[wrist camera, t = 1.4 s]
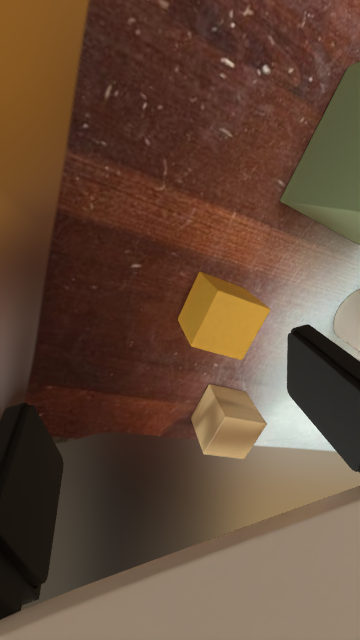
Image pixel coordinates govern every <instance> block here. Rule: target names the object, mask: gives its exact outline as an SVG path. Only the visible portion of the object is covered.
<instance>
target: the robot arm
mask: <svg viewBox="0 0 360 640" xmlns="http://www.w3.org/2000/svg"><path fill="white" fill-rule="evenodd" d="M287 390H288V393H289V395H290V396H291V398H292V399H293V400H294V401H295V403H296V404H297V405H298V406H299V407H300V408H301V410H302V411H303V412H304V413H305V414H306V416H307V417H308V418H309V419H310V420H311V422H312V423H313V424H314V425H315V426H316V427H317V429H318V430H319V431H320V432H321V433H322V435H323V436H324V437H325V438H326V439H327V440H328V442H329V443H330V444H331V445H332V446H333V448H334V449H335V450H336V451H337V452H338V454H339V455H340V456H341V457H342V458H343V459H344V461H345V462H346V463H347V464H348V465H349V467H350V468H351V469H352V470H354V471H356V472H357V471H359V472H360V361H358V360H357V359H356V358H354V357H353V356H352V355H350V354H349V353H347V352H346V351H345V350H343V349H342V348H341V347H339V346H338V345H336V344H335V343H334V342H332V341H331V340H330V339H328V338H327V337H325V336H324V335H323V334H321V333H320V332H318V331H317V330H316V329H314V328H313V327H312V326H310V325H303V326H300V327H296V328H293V329H292V330H291V333H289V334H288V354H287ZM62 473H63V459H62V456H61V454H60V452H59V450H58V449H57V447H56V445H55V443H54V441H53V439H52V438H51V436H50V434H49V432H48V430H47V428H46V427H45V425H44V423H43V421H42V419H41V418H40V416H39V414H38V412H37V410H36V408H35V407H34V406H33V405H31V406H29V405H28V404H27V403H22V404H18V405H15V406H11V407H8V408H6V409H5V411H4V413H3V415H2V418H1V420H0V640H360V486H358V487H355V488H352V489H349V490H347V491H344V492H341V493H338V494H335V495H333V496H330V497H327V498H324V499H322V500H319V501H316V502H313V503H310V504H307V505H305V506H302V507H299V508H297V509H293V510H291V511H288V512H285V513H282V514H279V515H277V516H274V517H271V518H268V519H265V520H263V521H260V522H257V523H255V524H252V525H249V526H246V527H243V528H241V529H238V530H235V531H233V532H230V533H227V534H224V535H221V536H218V537H216V538H213V539H210V540H208V541H205V542H202V543H199V544H196V545H194V546H191V547H188V548H185V549H183V550H180V551H178V552H175V553H172V554H169V555H167V556H164V557H161V558H158V559H156V560H153V561H150V562H147V563H145V564H142V565H139V566H137V567H134V568H131V569H129V570H126V571H123V572H120V573H118V574H115V575H112V576H110V577H107V578H104V579H101V580H99V581H96V582H94V583H90V584H88V585H85V586H83V587H80V588H77V589H75V590H72V591H70V592H67V593H64V594H62V595H60V596H57V597H54V598H52V599H49V600H47V601H44V602H41V603H39V604H36V605H34V606H31V607H29V608H26V609H23V610H21V607H22V605H24V604H26V603H29V602H32V601H35V600H37V599H39V595H40V589H41V584H42V583H45V581H46V580H47V576H48V570H49V564H50V556H51V549H52V543H53V535H54V528H55V521H56V515H57V508H58V500H59V494H60V486H61V480H62Z"/></svg>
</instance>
